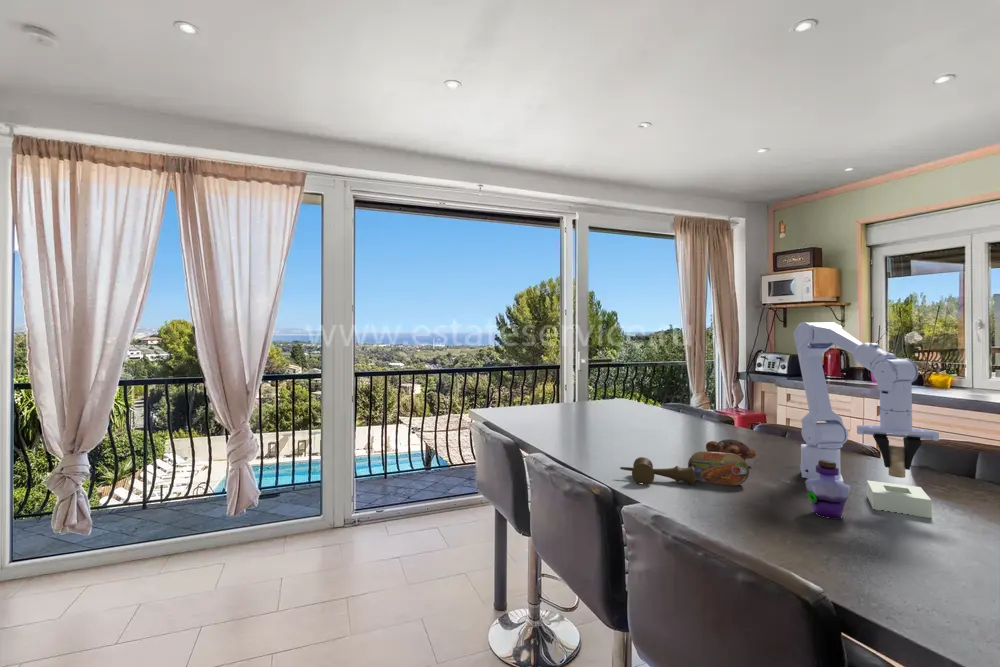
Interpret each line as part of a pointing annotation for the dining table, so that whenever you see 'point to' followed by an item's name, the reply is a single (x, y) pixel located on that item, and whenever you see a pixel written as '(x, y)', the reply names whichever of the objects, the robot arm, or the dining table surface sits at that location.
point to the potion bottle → (827, 491)
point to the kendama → (659, 472)
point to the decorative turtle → (731, 448)
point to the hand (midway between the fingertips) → (896, 467)
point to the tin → (719, 468)
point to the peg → (897, 461)
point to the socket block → (899, 498)
